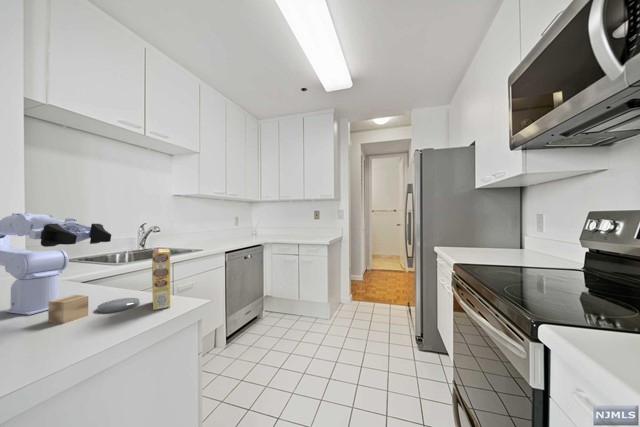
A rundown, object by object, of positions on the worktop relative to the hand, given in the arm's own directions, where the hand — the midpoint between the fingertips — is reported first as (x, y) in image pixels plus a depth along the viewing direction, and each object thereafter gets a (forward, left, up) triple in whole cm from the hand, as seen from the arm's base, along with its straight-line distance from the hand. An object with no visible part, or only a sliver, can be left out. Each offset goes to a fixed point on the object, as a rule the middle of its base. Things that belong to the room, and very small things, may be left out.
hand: (93, 238), depth 62 cm
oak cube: (-4, -2, -19) cm, 20 cm away
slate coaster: (0, +7, -19) cm, 20 cm away
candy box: (+10, +11, -20) cm, 24 cm away
